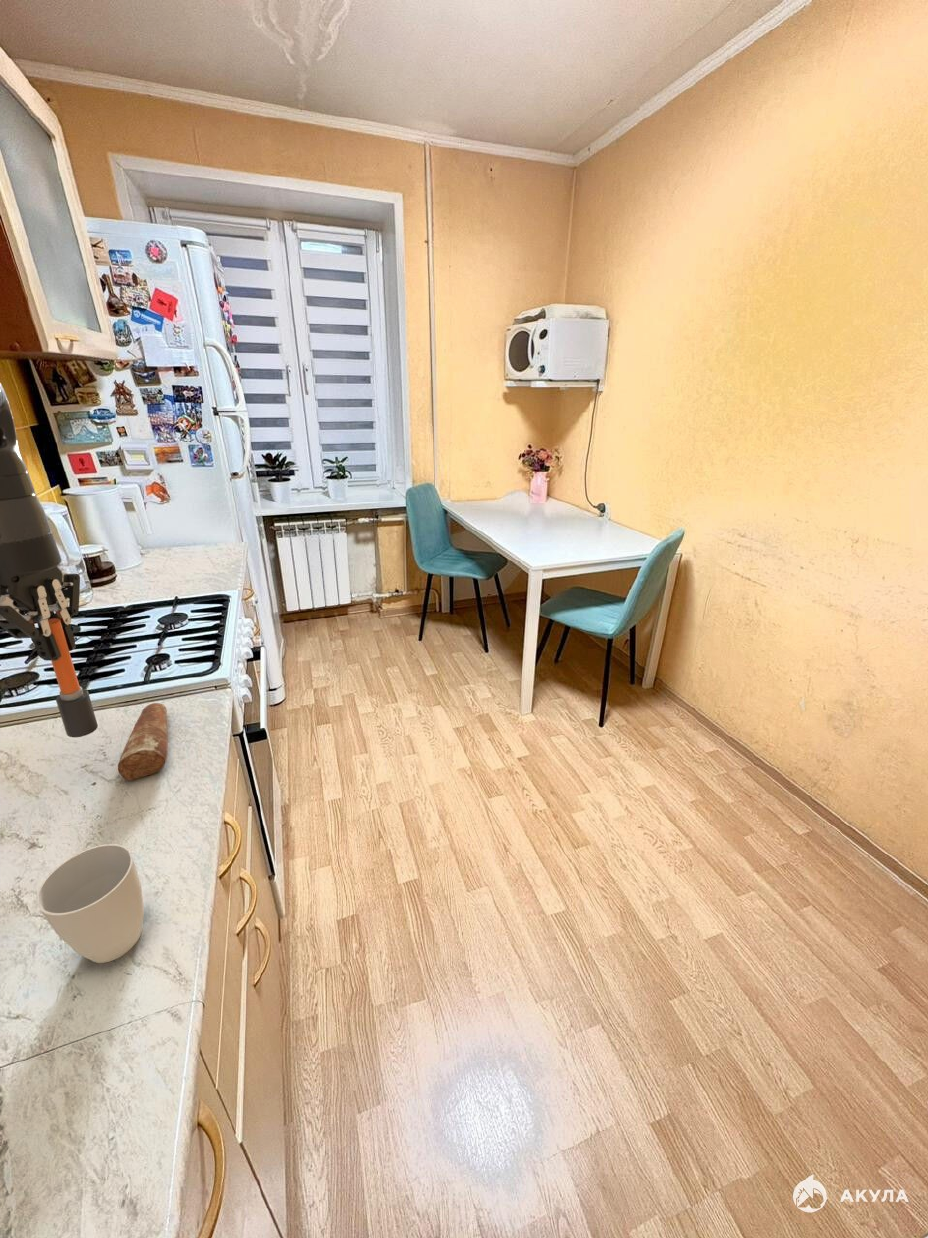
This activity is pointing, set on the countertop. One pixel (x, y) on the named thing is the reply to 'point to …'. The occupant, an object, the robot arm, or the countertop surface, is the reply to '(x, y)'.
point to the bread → (146, 744)
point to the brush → (71, 690)
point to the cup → (95, 902)
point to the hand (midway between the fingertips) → (59, 654)
